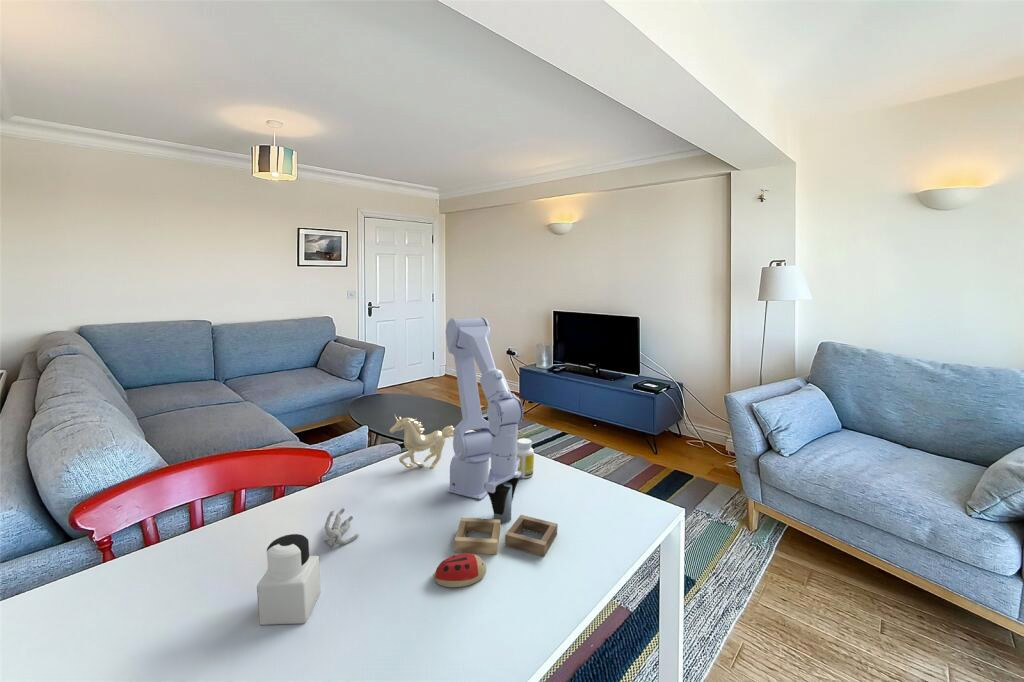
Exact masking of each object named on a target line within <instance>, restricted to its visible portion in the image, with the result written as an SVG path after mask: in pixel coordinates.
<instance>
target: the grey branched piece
mask: <svg viewBox="0 0 1024 682" xmlns="http://www.w3.org/2000/svg"><path fill="white" fill-rule="evenodd" d="M334 512H335V510H334V509H333V510H331V511H330V512H329V514H328V515H327V517H326V521H325V524H324V531H325V535H326V536H327V538H326V539H325V540H323V541H322V542H323V543H324V544H326V545H327V546H328V547H329V548H330V550H333V548H335V545H340V546H341V545H343V546H345V545H347V544H349V543H351V542H353V541H354V540H356V539H357V538H359V537H360V534H359V533H356V534H354V535H353V536H352V537H349V538H347V539H346V538H345V539H343V536H344V534H345V533H346V532H348V529H350V527H351V521H352V520H354V516H353V515H350V516H349V517H348V518H346V519H345V520H344V521H343V525H342V526H341V525H340V524H341V521H342V518H341V517H342V515H343V514H344V512H345V508H344V507H342V508H341V509H340V510H339V511H338V512H337V513H336V515H335V514H334ZM334 515H335V518H334V521H333V522H332V523H333V524H332V526H331V527H330V524H331V520H332V519H331V517H333V516H334ZM340 526H341V527H340Z"/></svg>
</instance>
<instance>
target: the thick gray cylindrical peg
mask: <svg viewBox="0 0 1024 682" xmlns="http://www.w3.org/2000/svg"><path fill="white" fill-rule="evenodd" d="M503 484H504V486H507V487H511V488H510V490H509V492H508V494H507V497H506V502H505V509H504V513H503V514H502V515H499V514H495V513H494V512H493V519H499V520H500V524H507V523H510V522H511V521H512V504H513V503H512V502H513V500H512V484H511V483H509V482H503ZM506 522H507V523H506Z"/></svg>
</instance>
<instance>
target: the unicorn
mask: <svg viewBox="0 0 1024 682" xmlns="http://www.w3.org/2000/svg"><path fill="white" fill-rule="evenodd" d="M393 415H394V418H395V421H396V422H395V424H394V425H392V427H390V429H389V432H390V434H394V433H395V432H397V431H402V430H403V432H404V435H403V436H404V439H403V444H404V448H406V449H407V450H408V451H407V452H406V453H405V454H402V455H401V456H399V458H398V461H399V463H401V464H402V465H403V466H404V467H405V468H406V469H412V468H414V467H415V466H414V465H416V466H417V467H424V466H425V464H424V463H425V462H427V461H428V460H430V459H431V458H433V457H435V459H434V460H433V461H432V463H431V465H430V469H434V468H436V467H435V466H436V465H437V464H438V463H439V462H440V460H441V458H442V452H443V449H444V447H445V444H446V439H447V438H453V430H454V428H455V427H454V426H453V425H447V426H445V427H443V429H441V431H440V430H434V431H433V432H431V433H429V434H423V433H424V432H425V430H426V429H425V428H423V427H424V425H423V424H422V421H417V419H418V418H417V417H416V418H411V417H401V416H399V418H397V415H396V413H393ZM426 450H429V452H430V454H428V455H427V456H426V457H425V458H424V460H423V463H422V462H418V461H415V455H414V454H415V453H420V452H424V451H426ZM407 458H409V459H410V462H411V463H412V464H411V463H406V461H404V460H405V459H407Z"/></svg>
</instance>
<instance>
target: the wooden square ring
mask: <svg viewBox="0 0 1024 682" xmlns="http://www.w3.org/2000/svg"><path fill="white" fill-rule="evenodd" d="M523 529H526V530H525V531H528V530H530V531H529V532H532V531H533V532H532V533H536V532H537V534H540V533H541V535H543V534H544V535H543V536H542V538H540V539H537V538H533V537H530V536H525V535H523V534H522V532H523ZM520 533H521V534H520ZM557 536H558V523H557V522H552V521H547V520H545V519H539V518H536V517H532V516H529V515H528V516H527V515H525V514H520V515H519V516H518V517H517V518H516V520H515V522H513V524H512V525H511V527H510V528H509V529H508V530H507V532H505V535H504V546H505V547H507V548H508V547H509V548H511V549H515V550H518V549H519V550H518V551H522V552H525V553H529V554H532V555H535V556H539V557H543V558H544V557H546V554H547V553H548V551H549V550H550V547H551V546H552V544H553V542H554V541H555V539H556V538H557Z"/></svg>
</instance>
